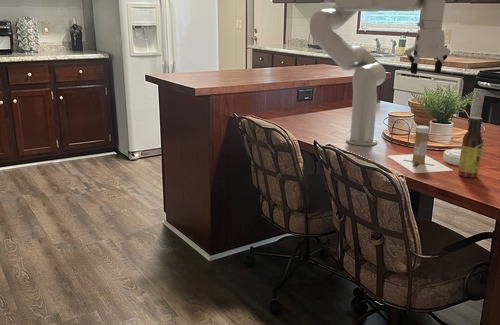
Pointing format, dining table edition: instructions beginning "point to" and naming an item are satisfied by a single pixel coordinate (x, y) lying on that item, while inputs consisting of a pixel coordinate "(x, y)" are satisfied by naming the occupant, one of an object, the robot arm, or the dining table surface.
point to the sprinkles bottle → (420, 144)
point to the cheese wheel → (452, 156)
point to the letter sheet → (428, 166)
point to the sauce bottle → (471, 149)
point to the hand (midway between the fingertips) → (425, 73)
